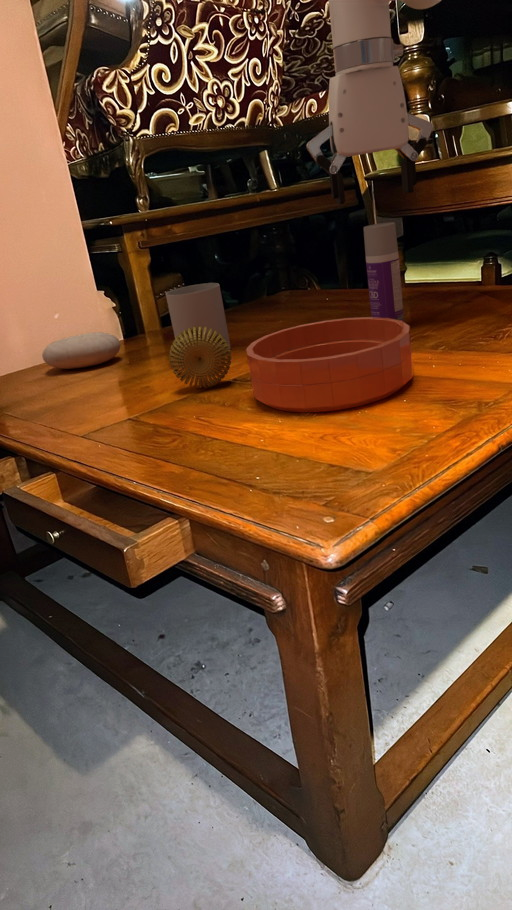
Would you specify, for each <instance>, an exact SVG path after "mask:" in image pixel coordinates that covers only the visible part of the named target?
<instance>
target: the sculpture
mask: <svg viewBox="0 0 512 910" xmlns="http://www.w3.org/2000/svg"><path fill="white" fill-rule="evenodd" d="M206 330H207V327H205V326H204V330H203V335H202V326H199V328H198V329H197V327H193V329H192V328H191V327H190V328H188V330H184V331H183V333H182V332H181V333H180V334H179V336H177V337H176V338H175V337H174V340H172V344H171V345H170V350H169V356H168V359H169V365H170V368H171V370H173V374H174V375H176V378H177V379H179V380H180V382H184V384H185V385H188V386H189V387H192V386H193V388H196V389H197V387H198V388H199V389H202V388H204V389H205V388H206V389H207V388H208V387H212V386H213V385H217V384H218V383H221V381H222V380H223V379H224V378H225V377H226V376H227V374H228V372H229V371H230V368H231V365H232V361H231V360H232V357H233V356H232V350H231V349H230V347H229V345H227V344H228V342H227V341H224V339H225V338H224V337H221V334H220V333H218V334H217V335H216V336H215V334H216V332H217V331H216V330H214V331H213V333H212V334H211V336H210V333H211V330H212V329H211V328H209V331H208V333H207V336H206ZM191 333H192V334H191ZM187 334H188V336H189V337H188V336H187ZM192 335H193V337H194V338H193V337H192ZM182 336H184V338H185V339H184V338H183V337H182ZM196 336H197V337H196ZM209 336H210V338H209ZM205 337H206V340H205ZM179 340H181V341H179ZM214 340H215V341H214ZM219 341H220V342H219ZM218 342H219V343H218ZM176 343H178V344H179V345H177V344H176ZM216 343H218V344H216ZM187 344H188V345H187ZM215 344H216V345H215ZM210 345H211V346H210ZM220 345H222V346H220ZM185 346H186V347H185ZM223 348H226V349H224V350H221V349H223ZM229 349H230V350H229ZM180 355H181V356H180ZM188 383H189V384H188ZM193 383H194V384H193Z"/></svg>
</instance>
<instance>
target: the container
mask: <svg viewBox="0 0 512 910" xmlns="http://www.w3.org/2000/svg"><path fill="white" fill-rule="evenodd" d="M397 238H398V237H397V229H396V223H395V221H390V222H389V221H388V222H380V223H373V224H369V225H366V226H363V239H364V241H363V242H364V253H365V267H366V275H367V287H368V295H369V305H370V312H371V313H370V314H371V316H370V317H378V318H391V319H395V320H400V321H403V322H404V323H405V319H404V318H405V317H404V316H405V315H404V305H403V303H404V302H403V291H402V282H401V281H402V279H401V266H400V257H399V247H398V239H397Z"/></svg>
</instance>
